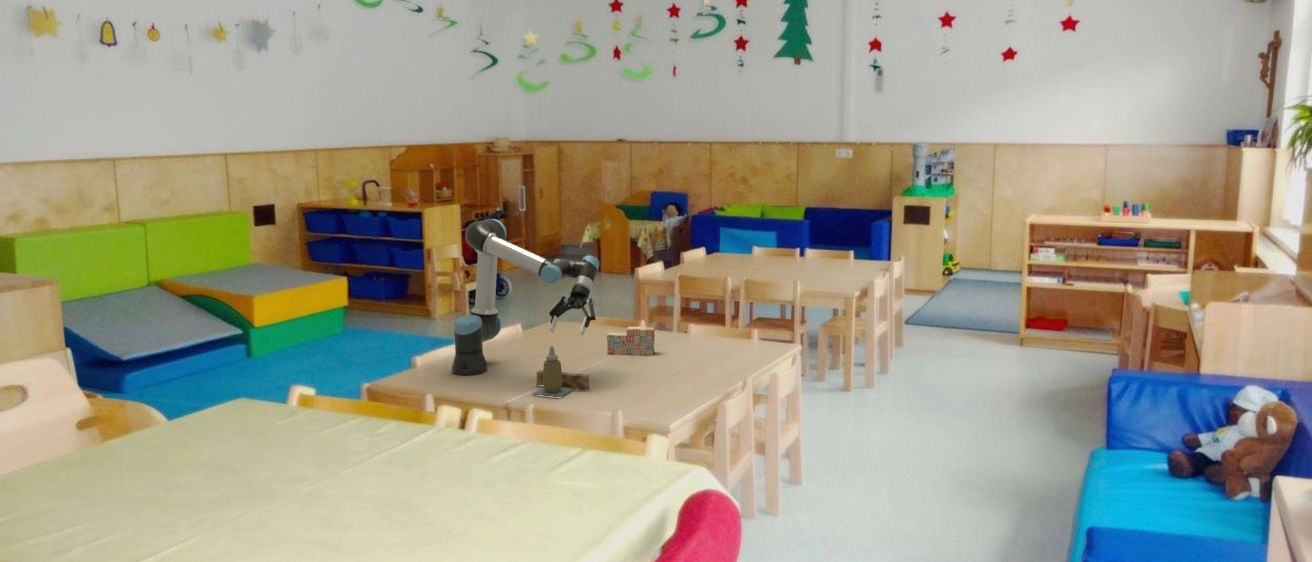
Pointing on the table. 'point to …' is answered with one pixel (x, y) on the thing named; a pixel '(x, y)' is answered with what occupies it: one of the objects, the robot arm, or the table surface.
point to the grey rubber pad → (560, 393)
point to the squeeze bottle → (552, 372)
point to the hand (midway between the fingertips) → (566, 332)
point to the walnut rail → (569, 380)
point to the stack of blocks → (631, 341)
